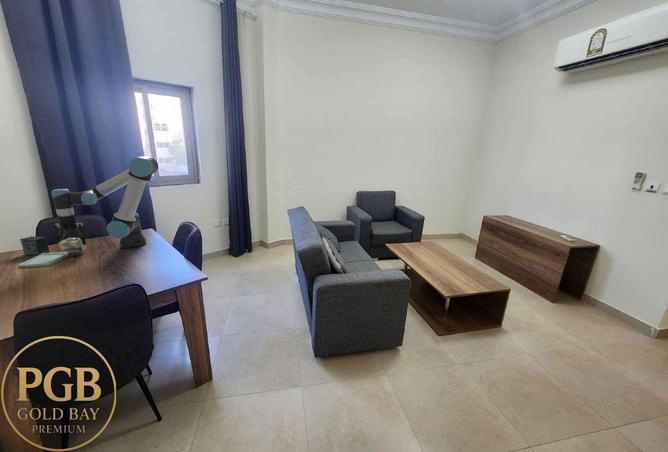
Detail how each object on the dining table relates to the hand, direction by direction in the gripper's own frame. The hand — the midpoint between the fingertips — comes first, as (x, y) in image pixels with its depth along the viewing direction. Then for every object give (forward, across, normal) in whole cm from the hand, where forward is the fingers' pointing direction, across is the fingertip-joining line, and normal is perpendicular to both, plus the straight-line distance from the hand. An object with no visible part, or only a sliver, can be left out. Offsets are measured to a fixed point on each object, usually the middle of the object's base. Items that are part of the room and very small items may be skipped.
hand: (74, 249), depth 167 cm
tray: (+3, +11, +7) cm, 13 cm away
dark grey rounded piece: (+3, 0, 0) cm, 3 cm away
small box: (+4, +24, -6) cm, 25 cm away
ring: (-3, 0, 0) cm, 3 cm away
